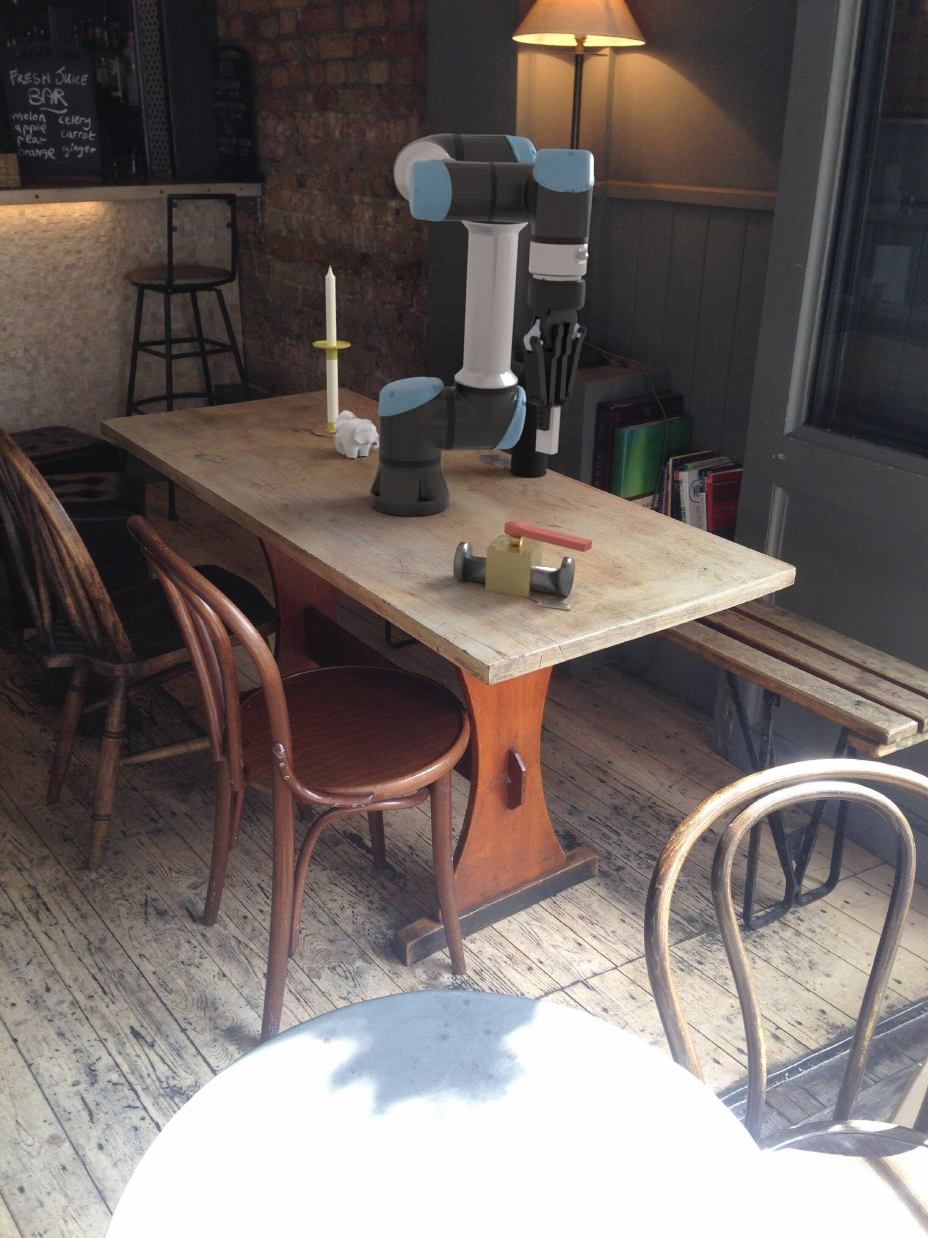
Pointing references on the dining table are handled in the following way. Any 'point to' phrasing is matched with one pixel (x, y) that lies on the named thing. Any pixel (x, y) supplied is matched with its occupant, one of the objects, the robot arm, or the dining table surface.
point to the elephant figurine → (354, 435)
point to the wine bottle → (528, 443)
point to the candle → (331, 351)
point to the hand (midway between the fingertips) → (546, 451)
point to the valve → (515, 569)
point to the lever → (547, 536)
